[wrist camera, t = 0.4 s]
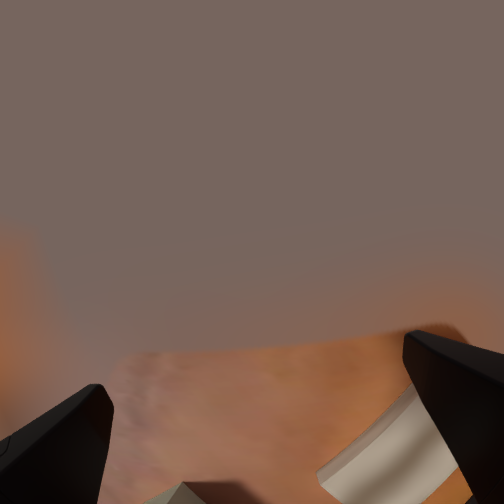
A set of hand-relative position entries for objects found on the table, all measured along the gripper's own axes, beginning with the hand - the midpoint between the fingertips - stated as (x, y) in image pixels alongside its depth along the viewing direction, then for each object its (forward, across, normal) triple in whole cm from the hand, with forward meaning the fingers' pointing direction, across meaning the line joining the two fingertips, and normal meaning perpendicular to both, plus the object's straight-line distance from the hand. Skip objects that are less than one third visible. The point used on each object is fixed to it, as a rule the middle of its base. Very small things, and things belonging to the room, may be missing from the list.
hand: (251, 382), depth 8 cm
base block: (+6, -9, +18) cm, 21 cm away
